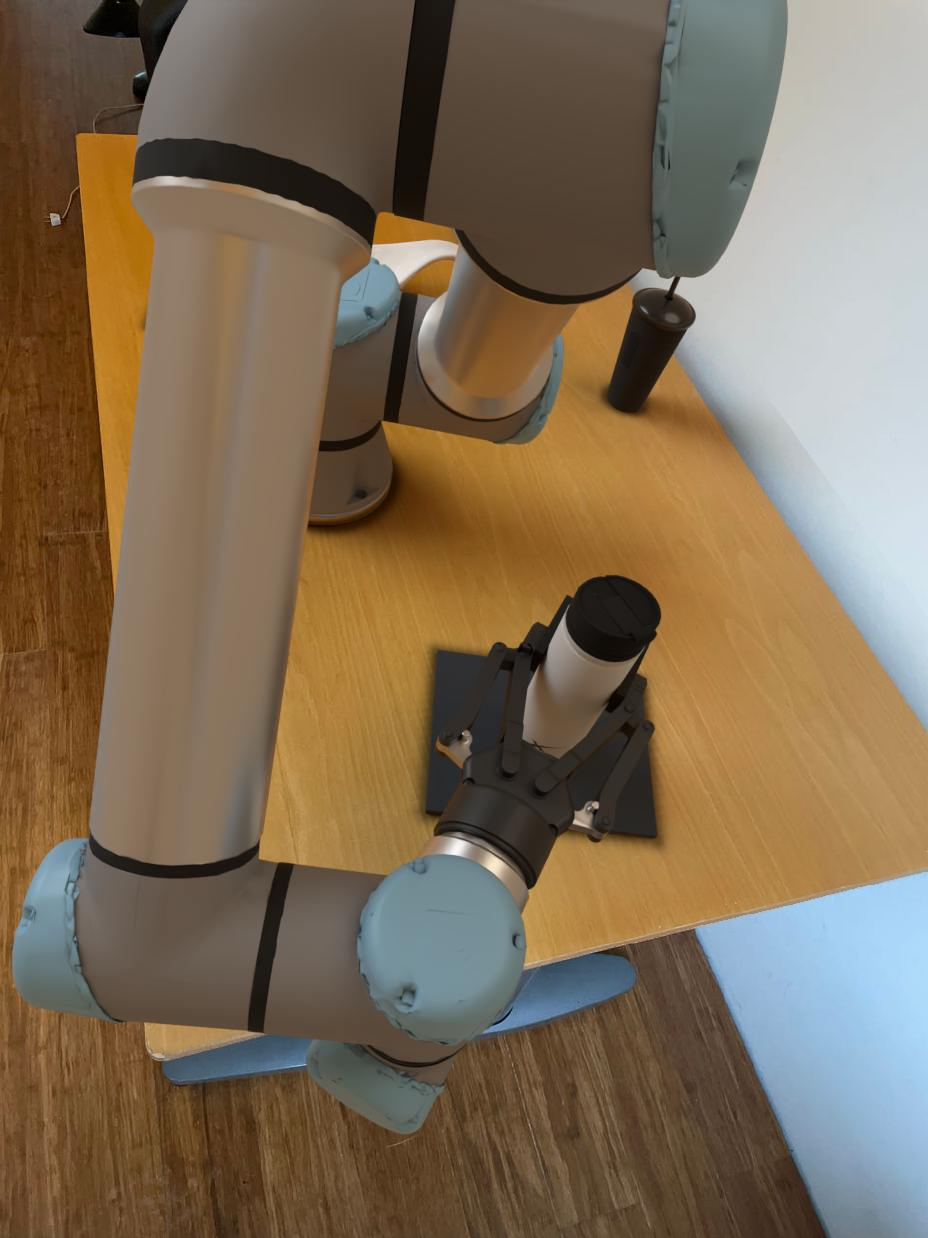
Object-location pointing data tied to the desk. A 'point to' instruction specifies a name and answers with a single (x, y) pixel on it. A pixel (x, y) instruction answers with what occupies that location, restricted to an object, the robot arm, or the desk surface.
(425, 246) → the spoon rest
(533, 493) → the desk surface
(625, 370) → the drinking cup
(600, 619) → the travel mug
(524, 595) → the desk surface
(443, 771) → the slate mat
